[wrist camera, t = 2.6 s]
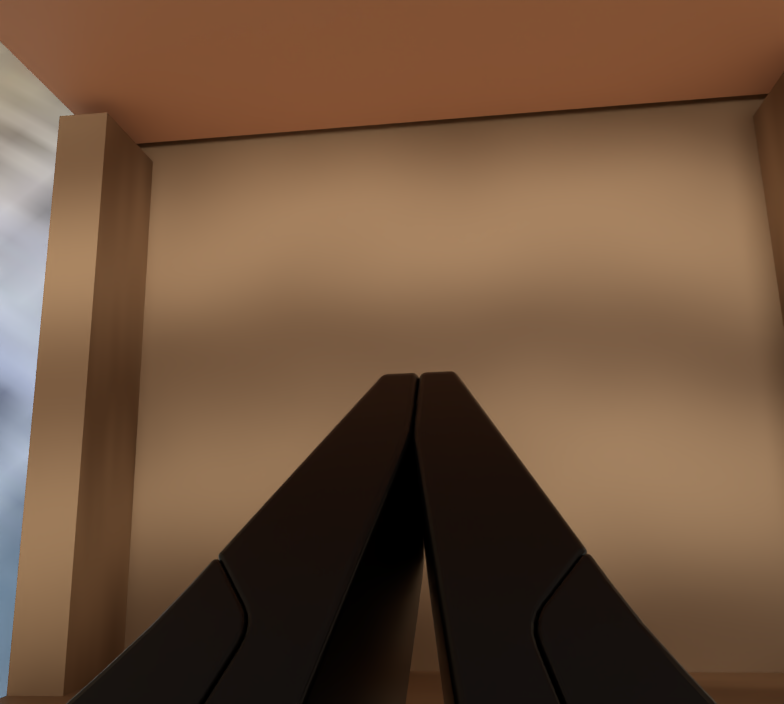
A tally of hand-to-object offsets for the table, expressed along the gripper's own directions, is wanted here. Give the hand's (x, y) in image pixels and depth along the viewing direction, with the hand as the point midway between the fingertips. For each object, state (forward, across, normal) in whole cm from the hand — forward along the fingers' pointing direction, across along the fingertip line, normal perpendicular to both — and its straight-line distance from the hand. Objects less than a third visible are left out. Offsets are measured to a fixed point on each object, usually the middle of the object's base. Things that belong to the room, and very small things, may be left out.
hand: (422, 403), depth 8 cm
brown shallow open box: (+9, 0, +6) cm, 11 cm away
